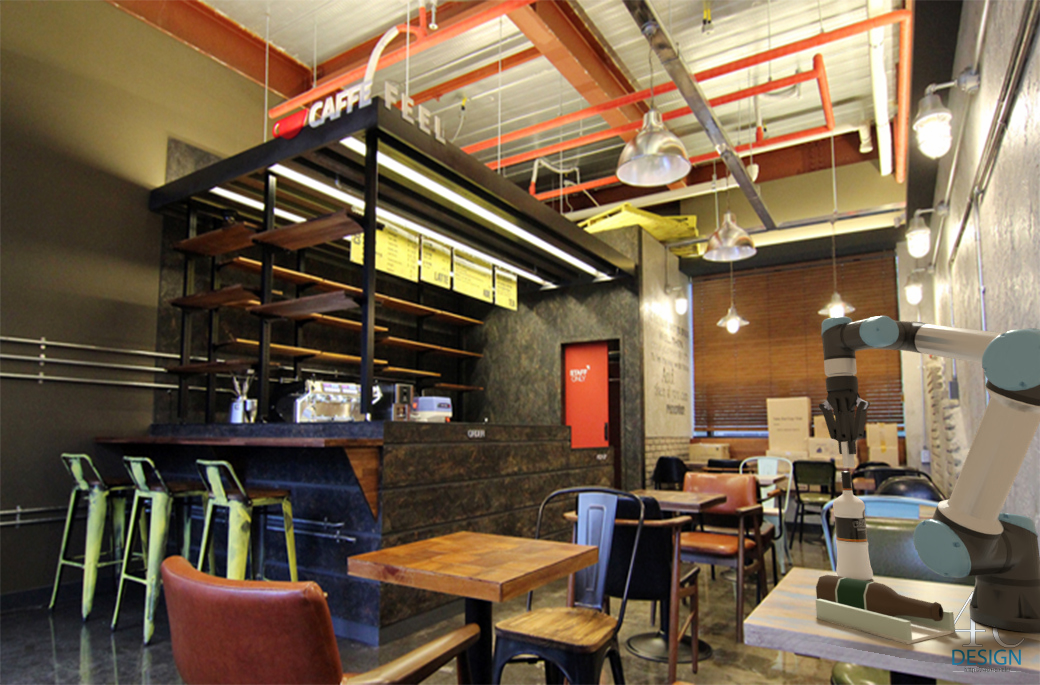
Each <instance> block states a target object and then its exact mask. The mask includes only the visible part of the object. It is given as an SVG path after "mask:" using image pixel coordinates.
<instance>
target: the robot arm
mask: <svg viewBox="0 0 1040 685" xmlns="http://www.w3.org/2000/svg"><path fill="white" fill-rule="evenodd" d="M820 336H821V340H822V342H821V343H822V351H823V352H822V353H823V362H824V363H823V366H824V375H825V376H827V377H826V378H825V389H826V392H827V396H826V400H825V401H824V402H822V403H819V404H818V408H819V409H820V410H821V412H822V415H823V418H824V421H825V424H826V427H827V432H828V434H829V437H830V439H831V440H835V441H836V442H837V443H838V444H837V445H838V452H839V453H838V454H840V455H841V457H842V468H844V469H845V468H846V469H847V468H849V469H851V468H856V464H855V462H856V461H855V455H856V454H857V441H858V440H862V439H863V438H864V434H865V425H866V417H867V411H868V409H869V407H870V406H871V403H870V401H867V400H866V401H865V400H864V399H862V398H861V396H860V394H859V379H858V377H857V373H858V372H857V358H856V356H857V355H856V352H859V351H864V350H886V351H887V350H888V351H889V350H890V351H902V352H903V351H905V352H912V353H917V354H925V355H929V356H936V357H940V358H945V359H946V358H947V359H953V360H958V361H964V362H968V363H976V364H981V366H982V367H981V368H983V370H984V372H983V375H984V376H985V378H987V379H986V383H985V385H984V388H985V390H986V391H987V392H988V393H987V394H988V395H989V396H990V398H989V401H988V403H987V405H986V408H985V410H984V413H983V415H982V418H981V421H980V423H979V425H978V428H977V431H976V433H975V435H974V438H973V440H972V443H971V445H970V447H969V450H968V453H967V455H966V457H965V459H964V463H963V465H962V468H961V470H960V472H959V476H957V477H958V478H957V480H956V482H955V485H954V488H953V490H952V493H951V495H950V497H949V499H945V500H941V501H939V502H938V504H937V506H936V508H935V511H934V513H933V516H932V518H927V519H925V520H922V521H920V522H919V523H918V524H917V525H916V526H915V529H914V531H913V536H912V537H913V538H912V539H913V546H914V549H915V551H916V552H917V556H918V558H919V559H920V561H921V562H922V563H923V564H924V565H925V567H926V568H928V569H929V570H930V571H932V572H933V573H935V574H936V575H939V576H941V577H944V578H945V577H946V578H956V579H957V578H958V579H961V578H962V579H963V578H966V577H973V576H975V583H974V588H973V592H972V595H971V600H970V603H969V606H968V608H969V616H970V619H971V620H973V621H974V622H976V623H979V624H982V625H984V626H985V625H986V626H988V627H993V628H998V629H1001V630H1002V629H1003V630H1006V631H1007V630H1008V631H1013V632H1014V631H1015V632H1020V633H1021V632H1023V633H1034V634H1040V551H1039V550H1040V549H1039V541H1038V537H1039V534H1038V533H1037V529H1036V525H1035V524H1036V523H1035V521H1034V519H1032V518H1031V517H1029V516H1027V515H1022V514H1014V513H1007V512H1006V513H1005V512H1002V510H1003V508H1004V505H1005V503H1006V500H1008V499H1007V498H1008V496H1009V494H1010V492H1011V489H1012V487H1013V485H1014V482H1015V480H1016V479H1017V478H1016V477H1017V476H1018V473H1019V471H1020V469H1021V467H1022V464H1023V461H1024V460H1025V457H1026V455H1027V452H1028V450H1029V447H1030V445H1031V443H1032V441H1033V439H1034V437H1035V434H1036V432H1037V429H1038V427H1039V425H1040V328H1039V329H1038V328H1035V327H1034V328H1030V327H1029V328H1021V329H1020V328H1019V329H1017V328H1016V329H1011V330H1009V331H1006V332H999V331H998V332H996V331H988V330H981V329H973V328H964V327H958V326H950V325H949V326H948V325H942V324H941V325H940V324H934V323H925V322H921V321H906V320H894V319H892V318H891V317H890V316H887V315H880V316H879V315H878V316H875V315H874V316H871V317H867V318H863V319H861V320H856V321H853V319H852V318H851V317H848V316H835V317H828V318H825V319H824V320H823V321H822V322H821V335H820Z"/></svg>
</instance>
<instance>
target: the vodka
mask: <svg viewBox="0 0 1040 685" xmlns="http://www.w3.org/2000/svg"><path fill="white" fill-rule="evenodd" d="M840 476H841V486H842V487H841V488H842V494H841V495H839V496H838V497H836V498H835V499H834V500H833V503H832V510H833V517H834V525H835V526H834V528H835V539H836V540H835V544H836V551H837V552H836V555H837V556H836V557H837V559H836V570H835V571H836V572H835V573H836V576H840V577H846V578H852V579H858V580H864V581H870V580H872V579H873V578H874V573H873V572H874V571H873V569H872V567H871V561H870V555H869V542H868V533H867V531H868V530H867V519H866V509H865V508H866V505H865V502H864V501H863V500H862V499H861V498H860V497H858V496H856V495H854V492H853V483H852V473H851V471H848V470H843V471H841V472H840Z"/></svg>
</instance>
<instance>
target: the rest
mask: <svg viewBox="0 0 1040 685" xmlns="http://www.w3.org/2000/svg"><path fill="white" fill-rule="evenodd" d="M815 608H816V609H815V610H816V619H817V620H821V621H824V622H826V623H831V624H835V625H839V626H842V627H845V628H849V629H853V630H856V631H859V632H862V633H867V634H871V635H873V636H874V635H875V636H878V637H882V638H885V639H889V640H891V641H895V642H899V643H902V644H907V645H910V644H915V643H918V642H922V641H927V640H930V639H934V638H938V637H942V636H946V635H947V636H948V635H951V634H955V633H956V626H955V624H956V623H955V617H954V616H955V615H954V611H950V610H946V609H943V619H942V620H941V621H934V620H933V619H927V618H919V617H912V616H901V615H897V616H895V617H892V616H887V615H883V614H879V613H875V612H871V611H867V610H863V609H859V608H855V607H851V606H847V605H843V604H839V603H835V602H831V601H827V600H823V599H817V598H815Z"/></svg>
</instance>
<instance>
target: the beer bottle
mask: <svg viewBox="0 0 1040 685" xmlns="http://www.w3.org/2000/svg"><path fill="white" fill-rule="evenodd" d="M815 592H816V599H823V600H827V601H831V602H835V603H839V604H843V605H847V606H851V607H855V608H859V609H863V610H867V611H871V612H875V613H879V614H883V615H887V616H892V617H895V616H897V615H901V616H912V617H919V618H927V619H933V620H934V621H941V620H942V619H943V610H944V608H943V605H942V604H941V603H939V602H938V601H935V602H930V601H926V600H922V599H918V598H912V597H908V596H904V595H903V594H902V595H901V594H900V593H898V592H896V591H895V590H894V588H892V587H890V586H888V585H886V584H884V583H880V582H875V581H870V580H868V581H864V580H858V579H852V578H846V577H840V576H838V575H831V574H826V575H821V576H820V577H818V580H817V583H816V585H815Z"/></svg>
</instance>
